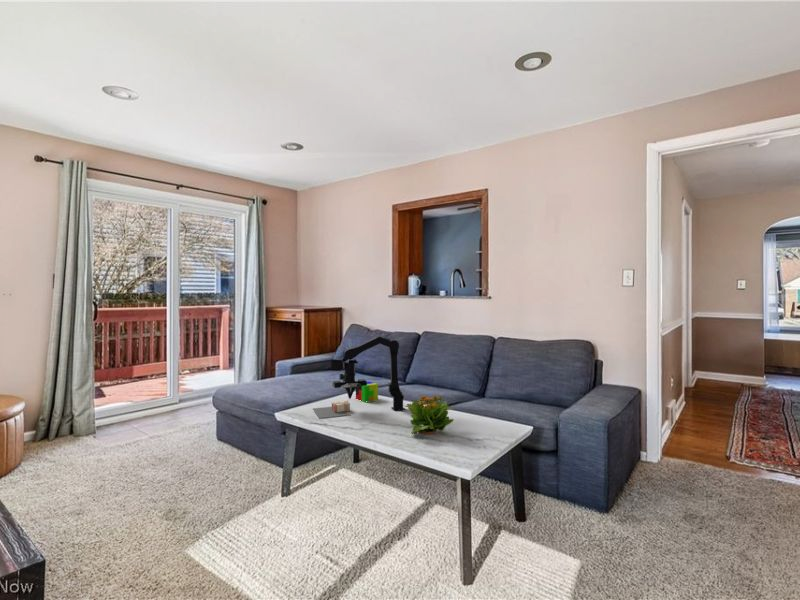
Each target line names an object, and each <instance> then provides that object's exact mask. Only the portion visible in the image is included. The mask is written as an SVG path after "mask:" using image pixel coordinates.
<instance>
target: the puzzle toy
mask: <svg viewBox="0 0 800 600" xmlns="http://www.w3.org/2000/svg"><path fill="white" fill-rule="evenodd" d="M356 386H357V388H355V400H356V399H358V400H357V401H359V400H361V401H360V402H362V401H364V402H363V403H367V402H366V401H370V402H373V400H375V401H379V384H378V383H377V382H372V381H367V385H366V386H361V385H360V384H357V385H356Z"/></svg>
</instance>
